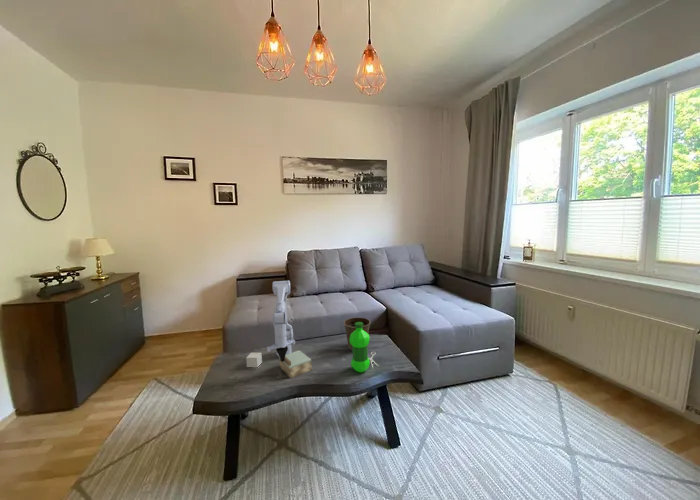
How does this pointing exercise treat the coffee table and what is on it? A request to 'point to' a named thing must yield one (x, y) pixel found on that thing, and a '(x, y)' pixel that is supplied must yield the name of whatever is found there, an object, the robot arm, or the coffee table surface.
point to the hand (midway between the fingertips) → (282, 360)
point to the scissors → (372, 359)
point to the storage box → (296, 369)
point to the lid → (295, 359)
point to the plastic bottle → (359, 348)
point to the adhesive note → (254, 359)
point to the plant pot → (351, 327)
